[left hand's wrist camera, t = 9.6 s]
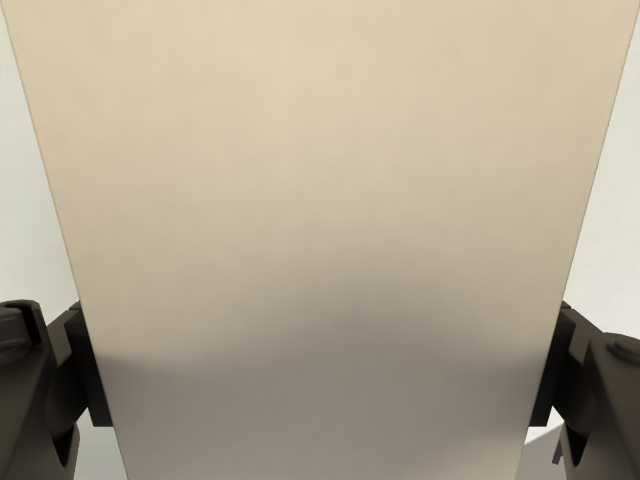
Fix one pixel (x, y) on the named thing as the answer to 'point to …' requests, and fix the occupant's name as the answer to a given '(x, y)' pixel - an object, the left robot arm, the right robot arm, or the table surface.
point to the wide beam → (320, 220)
